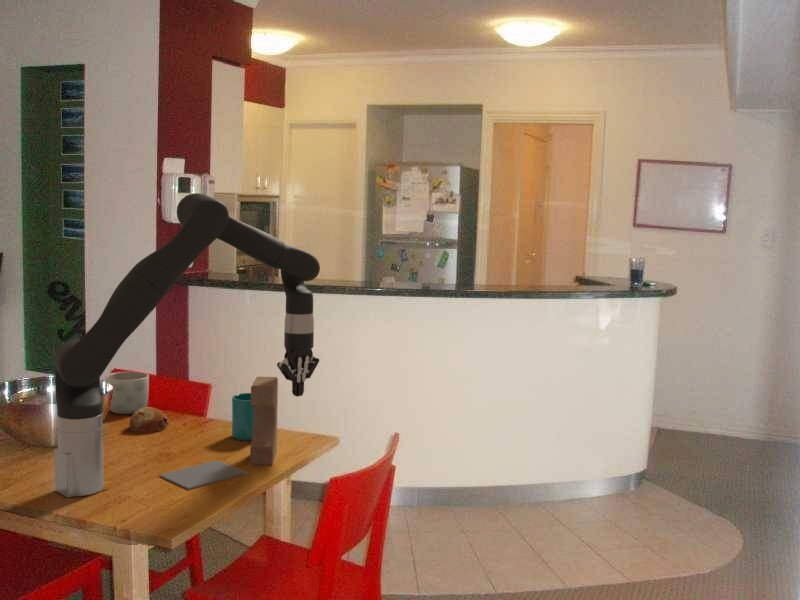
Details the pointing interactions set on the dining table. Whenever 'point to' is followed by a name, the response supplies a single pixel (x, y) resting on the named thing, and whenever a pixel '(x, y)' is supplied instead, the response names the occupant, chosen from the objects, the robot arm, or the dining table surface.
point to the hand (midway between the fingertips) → (298, 395)
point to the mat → (202, 474)
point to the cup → (242, 417)
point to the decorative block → (264, 420)
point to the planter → (128, 391)
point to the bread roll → (148, 420)
